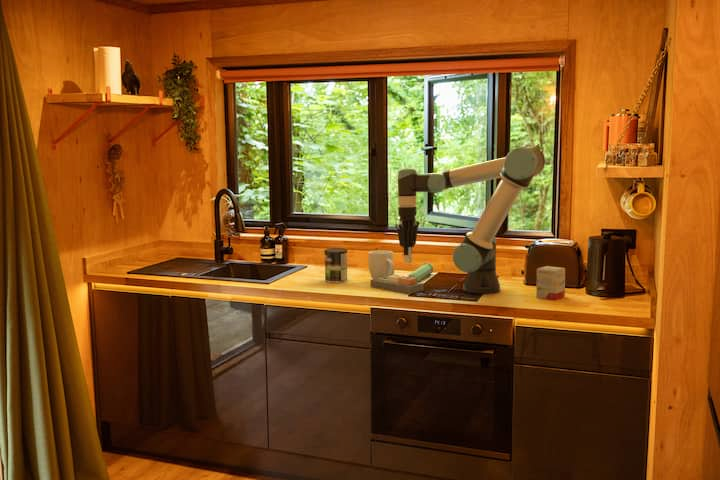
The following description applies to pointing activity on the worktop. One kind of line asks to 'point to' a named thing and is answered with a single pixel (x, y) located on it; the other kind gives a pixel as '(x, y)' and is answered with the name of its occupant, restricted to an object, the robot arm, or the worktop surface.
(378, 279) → the tile sage
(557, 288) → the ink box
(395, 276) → the tile cream
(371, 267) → the mug
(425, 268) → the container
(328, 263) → the coffee can
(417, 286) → the socket board
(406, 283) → the tile terracotta
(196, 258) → the worktop surface
